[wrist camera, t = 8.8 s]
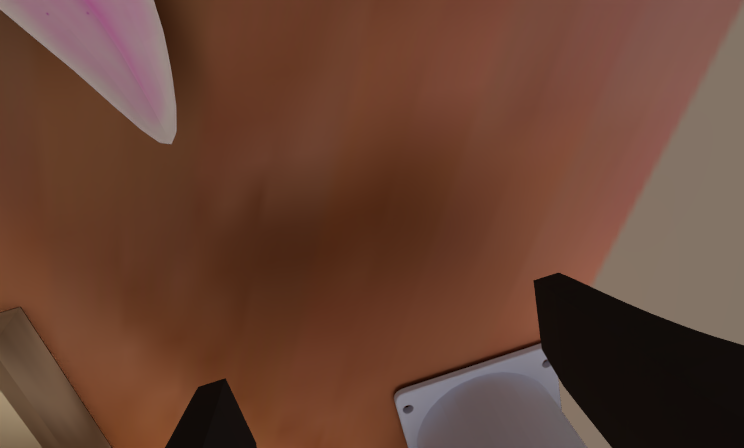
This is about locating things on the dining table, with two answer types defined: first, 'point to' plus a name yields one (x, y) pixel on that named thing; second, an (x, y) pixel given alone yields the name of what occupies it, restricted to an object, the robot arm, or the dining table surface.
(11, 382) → the beech base
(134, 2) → the lily
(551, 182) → the dining table surface
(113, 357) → the dining table surface
